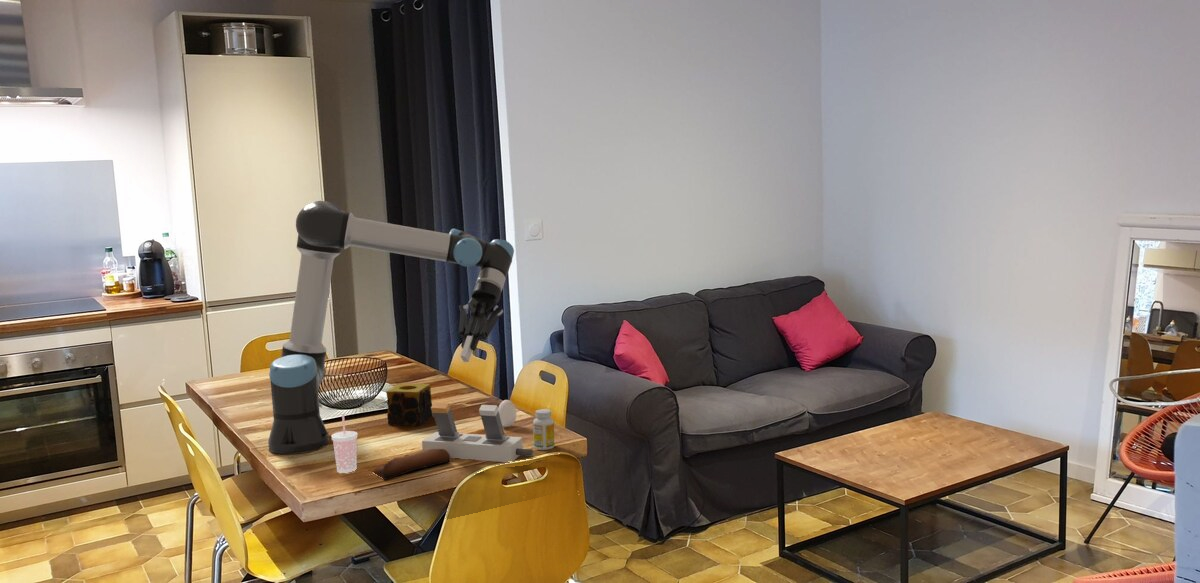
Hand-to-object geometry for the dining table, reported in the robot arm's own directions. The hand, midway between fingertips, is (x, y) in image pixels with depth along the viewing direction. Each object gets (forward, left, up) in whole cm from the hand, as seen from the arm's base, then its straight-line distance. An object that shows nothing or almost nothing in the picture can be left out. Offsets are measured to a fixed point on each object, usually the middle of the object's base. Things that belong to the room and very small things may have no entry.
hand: (464, 358), depth 238 cm
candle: (0, +28, -22) cm, 36 cm away
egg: (+15, +2, -22) cm, 27 cm away
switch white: (-3, -17, -17) cm, 24 cm away
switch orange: (-10, -5, -17) cm, 20 cm away
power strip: (-5, -13, -22) cm, 26 cm away
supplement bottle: (+10, -20, -22) cm, 31 cm away
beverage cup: (-34, +2, -22) cm, 41 cm away
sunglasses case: (-23, -8, -23) cm, 33 cm away
